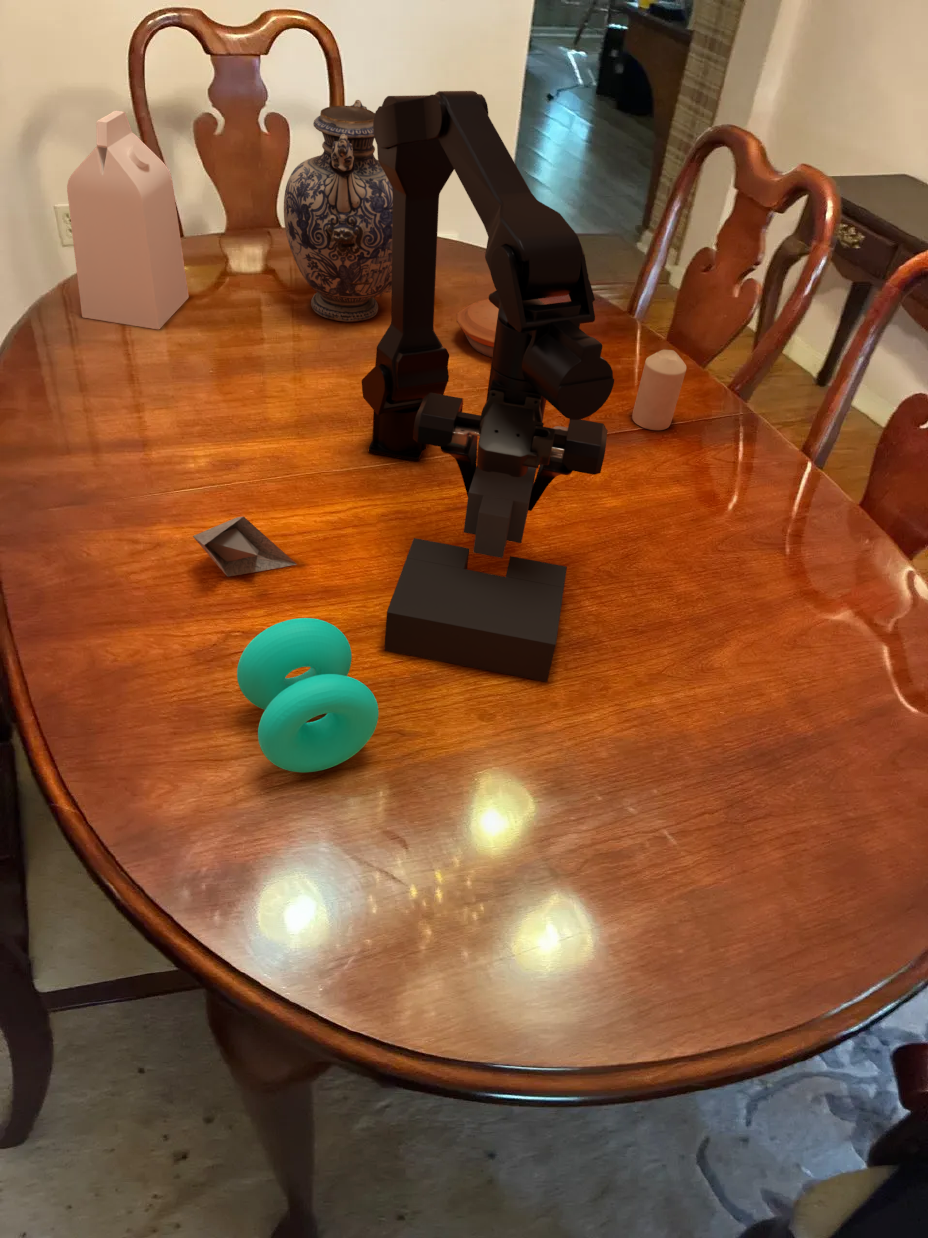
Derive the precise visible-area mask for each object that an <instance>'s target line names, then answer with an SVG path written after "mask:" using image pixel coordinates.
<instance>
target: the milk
mask: <svg viewBox="0 0 928 1238" xmlns="http://www.w3.org/2000/svg"><path fill="white" fill-rule="evenodd" d="M95 122H96V123H95V124H96V125H95V126H96V147H95V148H94V149H93V150H92V151H91V152H90V153H89V154H88V155H87V156H86V157H85V159H84V160H83V161H82V162H81V163H80V164H79V165H78V166H77V167H76V168H75V169H74V171H73V172H72V174H70V176H69V178H68V180H67V184H66V188H67V189H66V192H67V201H68V209H69V218H70V225H71V234H72V244H73V251H74V252H73V253H74V258H75V260H74V261H75V268H76V276H77V277H76V278H77V286H78V293H79V294H78V295H79V301H80V302H79V303H80V310H81V311H80V312H81V317H82V318H84V319H89V320H90V319H91V320H97V321H102V322H103V321H104V322H109V323H115V324H121V325H128V326H134V327H140V328H146V329H153V330H160V329H161V328H162V327H164V325H165V324H167V322H168V321H169V320H170V318H172V316H174V314H175V313H176V312H177V311H178V310H179V309H180V308H181V306H183V305H184V304H185V302H186V301H187V300H188V299H189V298H190V296H189V289H188V282H187V275H186V268H185V267H186V266H185V260H184V254H183V246H182V239H181V232H180V225H179V217H178V212H177V204H176V198H175V197H176V196H175V190H174V183H173V178H172V174H171V171H170V170H169V168H168V167H167V165H166V163H164V162H163V160H162V159H161V158H159V156H157V154H155V152H154V151H153V150H152V149H150V147H148V146H147V144H145V143H144V142H143V141H142V140H141V139H140V137H138V135H136V134H135V133H134V132H133V130H132V127H131V125H130V122H129V119H128V115H127V113H126V111H121V110H113V111H112V112H110V113H109V114H106V115H105V116H103V117H100V118H99V119H97V120H96V121H95Z"/></svg>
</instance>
